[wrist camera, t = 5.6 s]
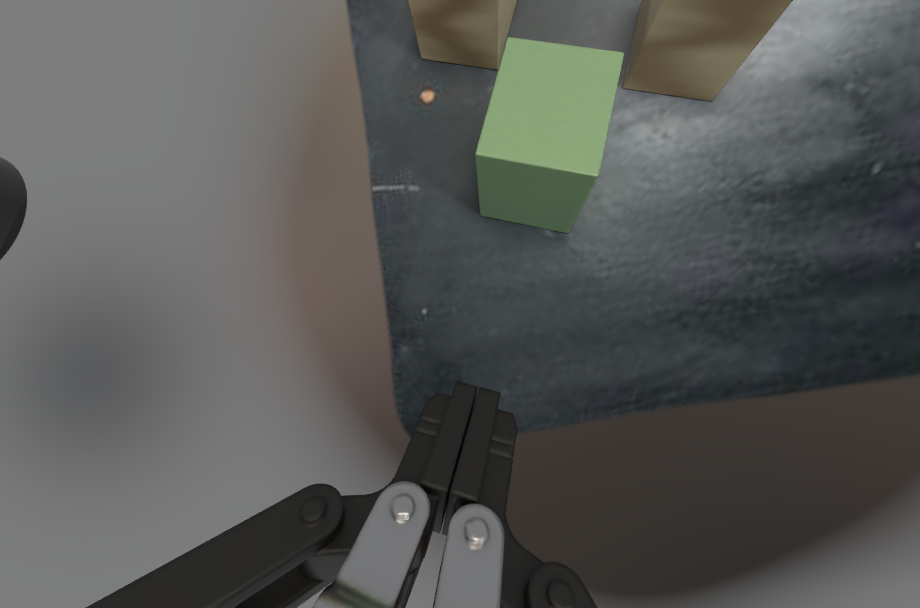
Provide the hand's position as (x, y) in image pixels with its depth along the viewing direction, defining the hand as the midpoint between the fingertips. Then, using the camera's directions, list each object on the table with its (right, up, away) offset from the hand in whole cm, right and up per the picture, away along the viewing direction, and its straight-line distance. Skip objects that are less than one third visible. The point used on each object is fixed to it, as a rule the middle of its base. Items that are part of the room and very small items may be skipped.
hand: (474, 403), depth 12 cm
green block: (+5, +12, +13) cm, 18 cm away
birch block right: (+15, +21, +13) cm, 29 cm away
